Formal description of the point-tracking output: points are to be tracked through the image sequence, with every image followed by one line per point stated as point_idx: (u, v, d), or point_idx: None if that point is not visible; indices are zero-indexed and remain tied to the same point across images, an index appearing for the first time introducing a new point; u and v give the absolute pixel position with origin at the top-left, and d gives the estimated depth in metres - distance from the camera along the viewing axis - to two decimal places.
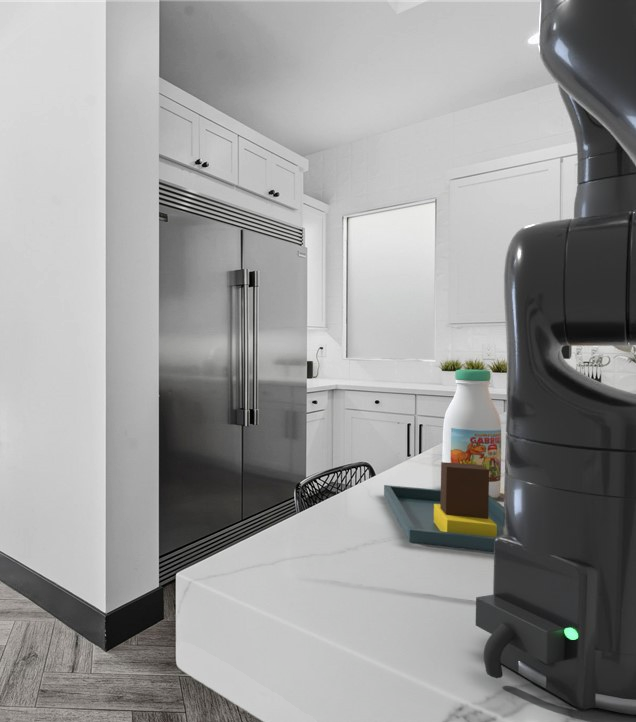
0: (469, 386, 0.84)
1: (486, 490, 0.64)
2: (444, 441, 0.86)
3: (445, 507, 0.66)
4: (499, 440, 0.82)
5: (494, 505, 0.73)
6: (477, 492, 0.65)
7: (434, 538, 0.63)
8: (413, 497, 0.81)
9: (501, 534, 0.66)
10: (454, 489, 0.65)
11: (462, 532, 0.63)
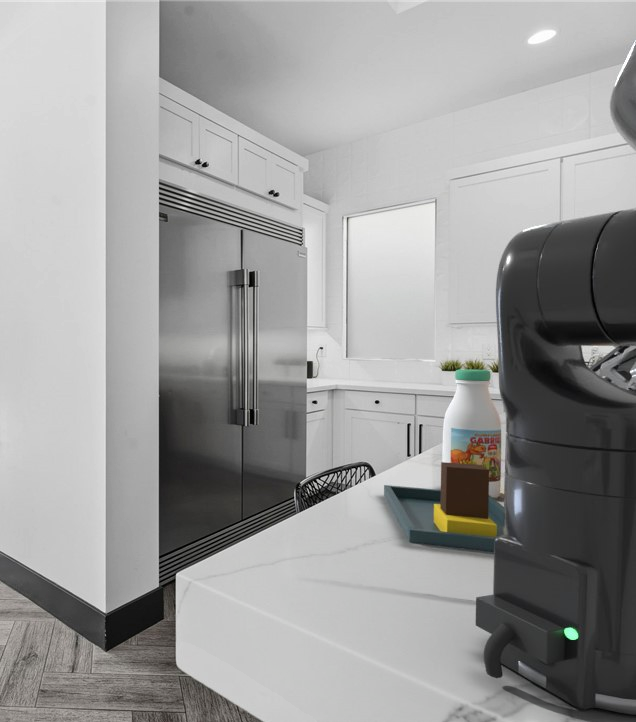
0: (469, 386, 0.84)
1: (486, 490, 0.64)
2: (444, 441, 0.86)
3: (445, 507, 0.66)
4: (499, 440, 0.82)
5: (494, 505, 0.73)
6: (477, 492, 0.65)
7: (434, 538, 0.63)
8: (413, 497, 0.81)
9: (501, 534, 0.66)
10: (454, 489, 0.65)
11: (462, 532, 0.63)
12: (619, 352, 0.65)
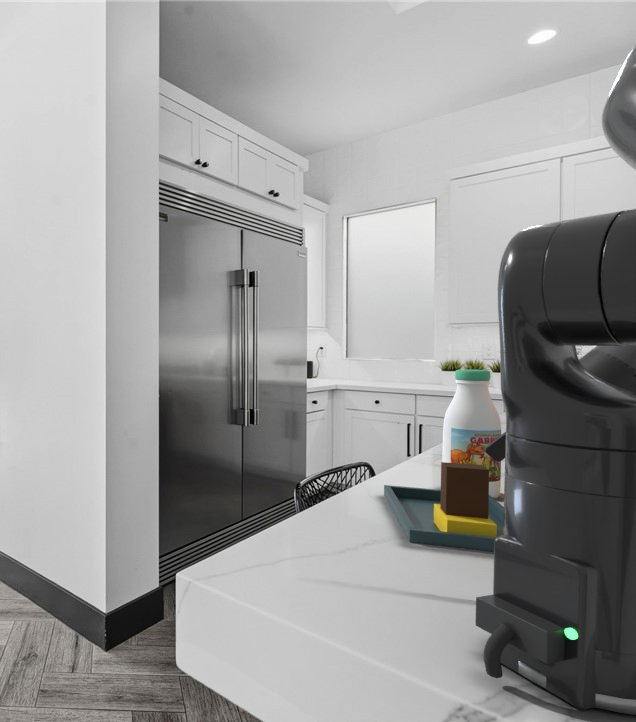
0: (469, 386, 0.84)
1: (486, 490, 0.64)
2: (444, 441, 0.86)
3: (445, 507, 0.66)
4: None
5: (494, 505, 0.73)
6: (477, 492, 0.65)
7: (434, 538, 0.63)
8: (413, 497, 0.81)
9: (501, 534, 0.66)
10: (454, 489, 0.65)
11: (462, 532, 0.63)
12: None
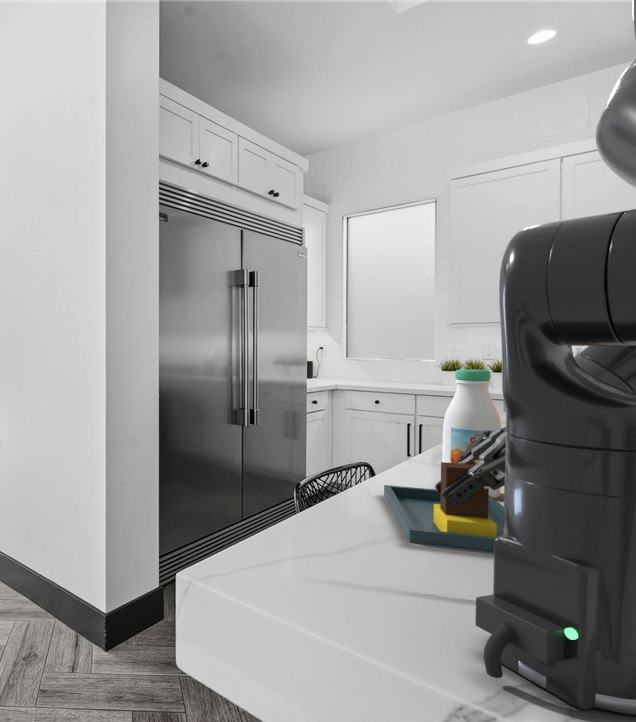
0: (469, 386, 0.84)
1: (486, 490, 0.64)
2: (444, 441, 0.86)
3: (445, 507, 0.66)
4: None
5: (494, 505, 0.73)
6: (477, 492, 0.65)
7: (434, 538, 0.63)
8: (413, 497, 0.81)
9: (501, 534, 0.66)
10: None
11: (462, 532, 0.63)
12: (486, 437, 0.69)
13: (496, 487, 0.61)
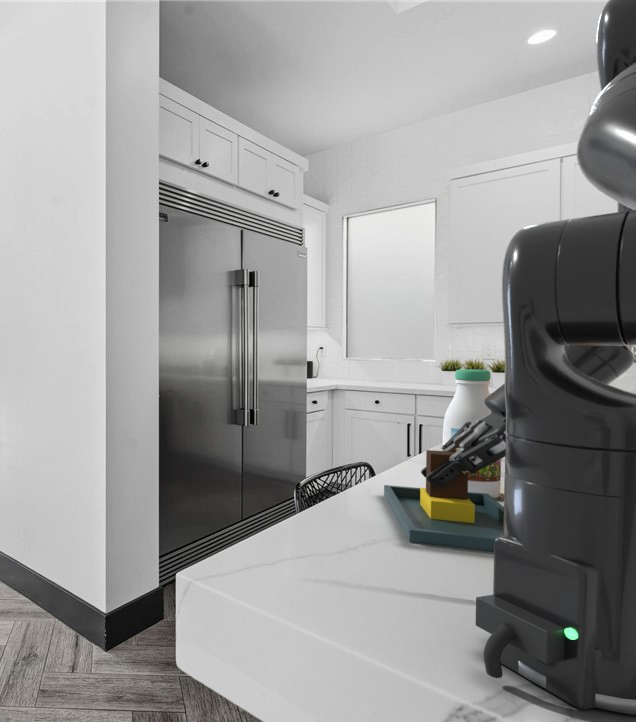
0: (469, 386, 0.84)
1: (466, 474, 0.72)
2: (444, 441, 0.86)
3: (429, 490, 0.74)
4: None
5: (494, 505, 0.73)
6: (457, 476, 0.72)
7: (434, 538, 0.63)
8: (413, 497, 0.81)
9: (501, 534, 0.66)
10: None
11: (444, 512, 0.71)
12: (467, 428, 0.77)
13: (473, 471, 0.69)
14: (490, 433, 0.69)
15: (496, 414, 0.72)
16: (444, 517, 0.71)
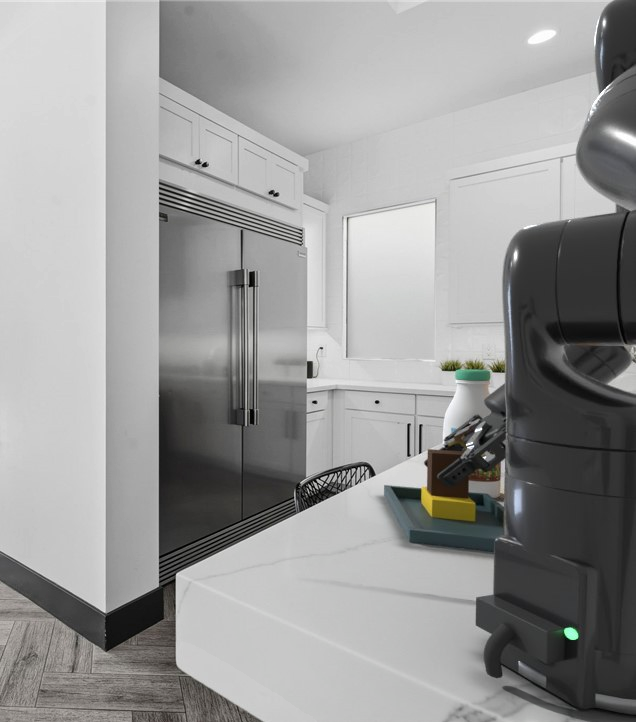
0: (469, 386, 0.84)
1: None
2: (444, 441, 0.86)
3: (431, 489, 0.74)
4: None
5: (494, 505, 0.73)
6: None
7: (434, 538, 0.63)
8: (413, 497, 0.81)
9: (501, 534, 0.66)
10: (438, 472, 0.74)
11: (445, 510, 0.72)
12: None
13: (489, 468, 0.67)
14: (490, 433, 0.70)
15: (496, 414, 0.73)
16: (445, 515, 0.72)
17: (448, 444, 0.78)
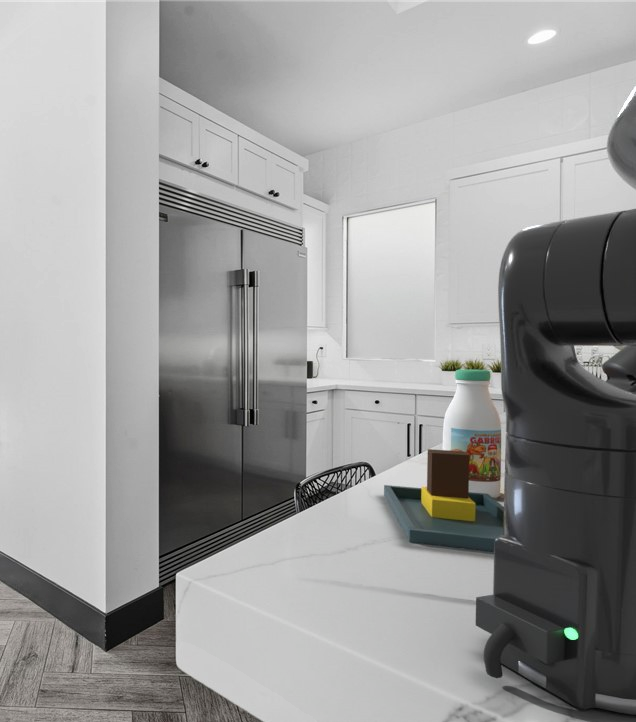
0: (469, 386, 0.84)
1: (466, 473, 0.73)
2: (444, 441, 0.86)
3: (431, 489, 0.74)
4: (499, 440, 0.82)
5: (494, 505, 0.73)
6: (458, 475, 0.73)
7: (434, 538, 0.63)
8: (413, 497, 0.81)
9: (501, 534, 0.66)
10: (438, 472, 0.74)
11: (445, 510, 0.72)
12: None
13: None
14: None
15: (617, 379, 0.68)
16: (445, 515, 0.72)
17: None
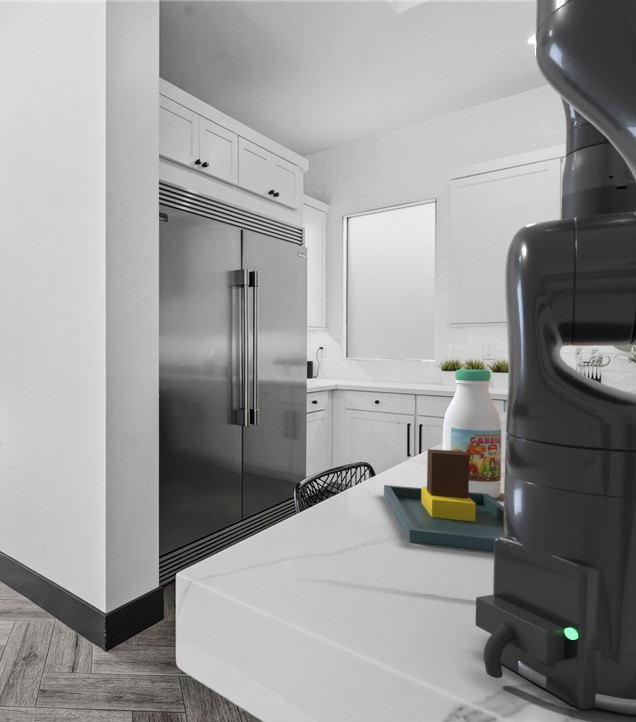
0: (469, 386, 0.84)
1: (466, 473, 0.73)
2: (444, 441, 0.86)
3: (431, 489, 0.74)
4: (499, 440, 0.82)
5: (494, 505, 0.73)
6: (458, 475, 0.73)
7: (434, 538, 0.63)
8: (413, 497, 0.81)
9: (501, 534, 0.66)
10: (438, 472, 0.74)
11: (445, 510, 0.72)
12: None
13: None
14: None
15: None
16: (445, 515, 0.72)
17: None
